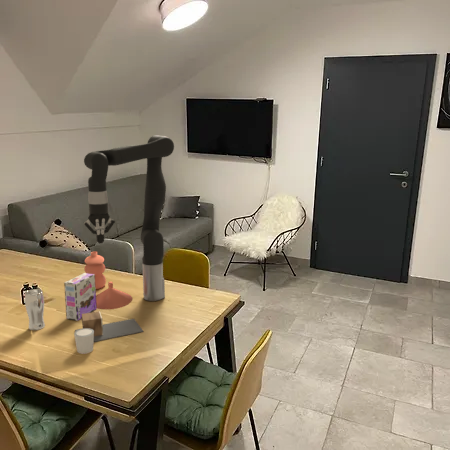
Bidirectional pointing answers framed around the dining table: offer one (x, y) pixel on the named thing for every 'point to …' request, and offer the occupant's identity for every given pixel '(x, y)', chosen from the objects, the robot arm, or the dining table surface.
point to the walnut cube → (93, 322)
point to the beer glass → (35, 308)
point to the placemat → (118, 329)
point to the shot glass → (84, 340)
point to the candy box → (80, 296)
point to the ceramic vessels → (111, 295)
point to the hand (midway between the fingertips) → (100, 242)
